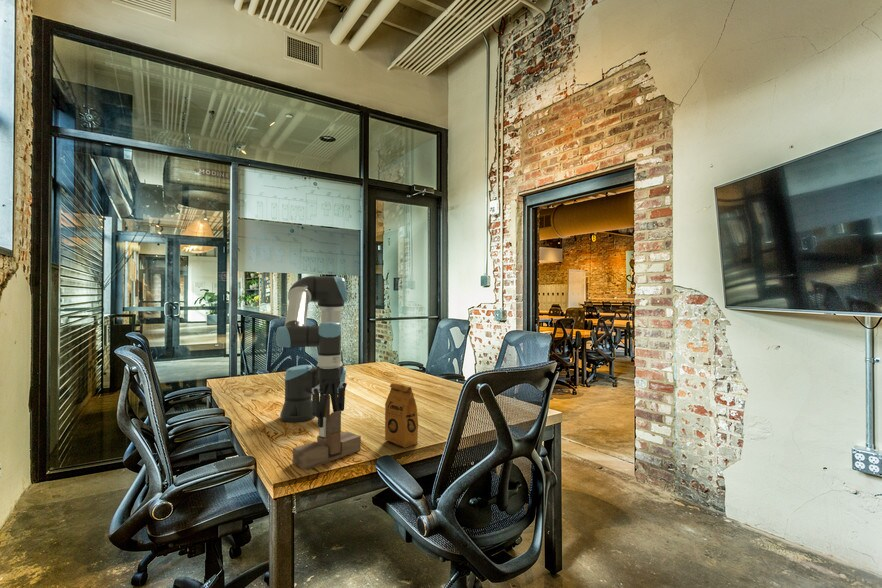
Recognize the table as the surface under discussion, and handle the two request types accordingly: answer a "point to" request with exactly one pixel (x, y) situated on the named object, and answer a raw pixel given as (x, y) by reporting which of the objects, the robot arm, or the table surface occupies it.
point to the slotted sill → (324, 451)
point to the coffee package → (401, 416)
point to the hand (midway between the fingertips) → (328, 434)
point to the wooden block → (331, 430)
